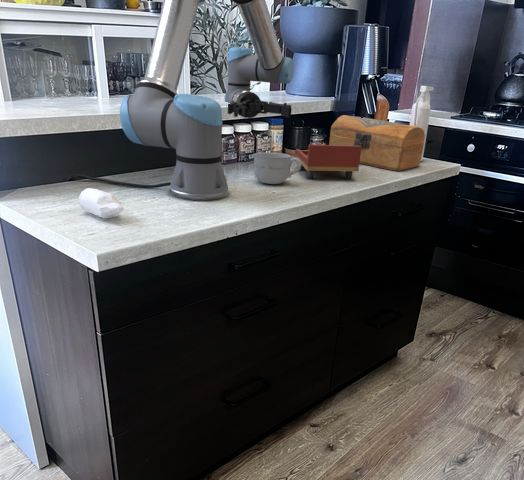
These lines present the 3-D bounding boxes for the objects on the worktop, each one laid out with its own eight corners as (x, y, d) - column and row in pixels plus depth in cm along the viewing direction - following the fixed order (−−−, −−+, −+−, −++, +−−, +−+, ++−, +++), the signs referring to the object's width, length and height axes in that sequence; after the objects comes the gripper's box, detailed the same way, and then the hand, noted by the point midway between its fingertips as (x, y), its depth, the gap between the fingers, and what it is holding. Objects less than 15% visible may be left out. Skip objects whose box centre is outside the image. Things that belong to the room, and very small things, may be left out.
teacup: (246, 182, 152) (247, 154, 148) (263, 176, 160) (264, 148, 156) (289, 190, 147) (291, 160, 143) (304, 183, 155) (307, 155, 151)
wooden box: (324, 157, 191) (329, 116, 184) (350, 152, 202) (355, 113, 195) (395, 172, 174) (403, 128, 167) (420, 166, 185) (428, 124, 178)
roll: (109, 226, 112) (107, 200, 109) (79, 213, 119) (76, 188, 116) (133, 221, 116) (131, 196, 113) (102, 209, 123) (99, 185, 120)
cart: (306, 180, 158) (309, 145, 153) (293, 167, 174) (296, 134, 169) (356, 181, 161) (361, 146, 155) (339, 168, 177) (343, 135, 171)
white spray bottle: (395, 161, 192) (408, 85, 179) (410, 157, 200) (424, 84, 187) (412, 164, 188) (427, 87, 176) (426, 160, 196) (441, 86, 184)
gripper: (282, 116, 175) (306, 126, 158) (209, 116, 168) (226, 126, 150) (283, 92, 171) (308, 99, 154) (209, 90, 164) (227, 97, 147)
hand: (268, 112), depth 152 cm, fingers open, 13 cm apart
